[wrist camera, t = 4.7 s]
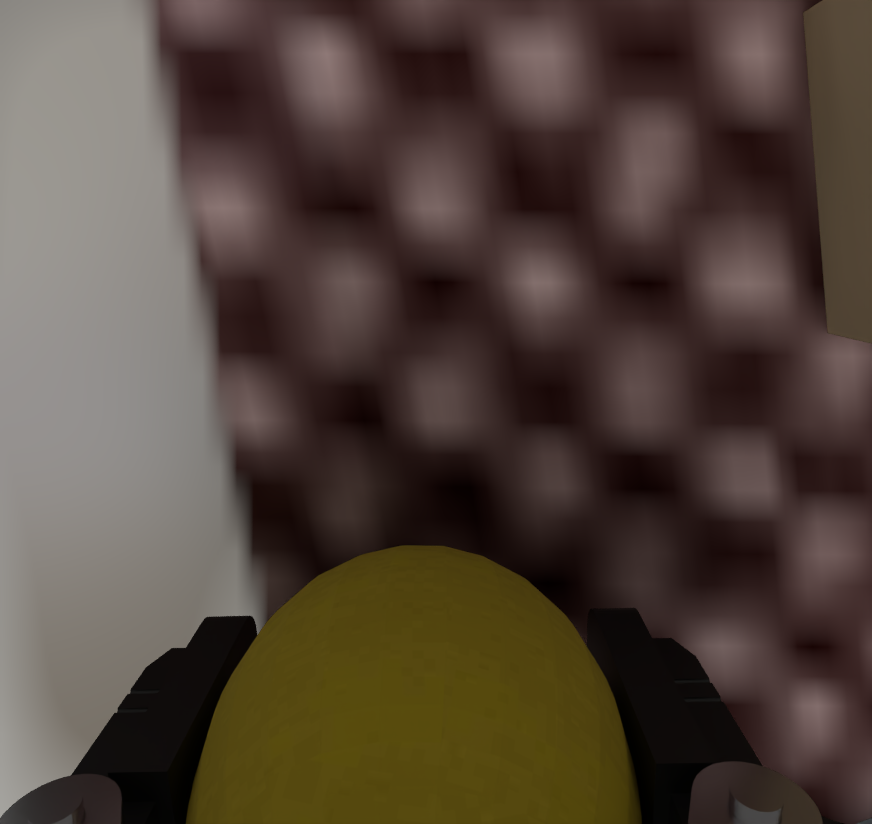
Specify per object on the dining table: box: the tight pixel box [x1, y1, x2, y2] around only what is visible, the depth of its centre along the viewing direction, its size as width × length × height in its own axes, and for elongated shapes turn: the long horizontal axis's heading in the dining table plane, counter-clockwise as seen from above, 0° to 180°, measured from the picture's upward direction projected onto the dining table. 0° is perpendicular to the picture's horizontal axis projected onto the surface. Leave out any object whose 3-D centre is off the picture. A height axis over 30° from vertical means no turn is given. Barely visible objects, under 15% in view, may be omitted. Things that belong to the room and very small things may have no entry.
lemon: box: [186, 545, 642, 824], centre depth 9 cm, size 6×6×8 cm
